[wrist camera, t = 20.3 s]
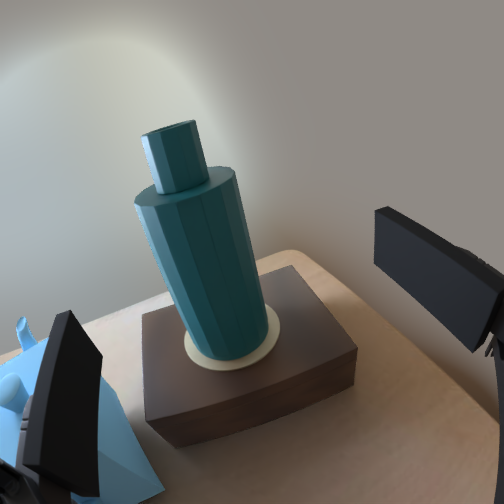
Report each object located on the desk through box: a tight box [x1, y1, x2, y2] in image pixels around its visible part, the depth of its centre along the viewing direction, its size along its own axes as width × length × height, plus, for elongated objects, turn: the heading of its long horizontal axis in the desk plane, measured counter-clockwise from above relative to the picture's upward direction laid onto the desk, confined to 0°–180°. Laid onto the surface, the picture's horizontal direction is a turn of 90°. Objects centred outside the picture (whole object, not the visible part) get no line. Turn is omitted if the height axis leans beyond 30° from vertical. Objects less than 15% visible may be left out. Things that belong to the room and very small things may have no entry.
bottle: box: [134, 120, 269, 361], centre depth 22 cm, size 7×7×18 cm
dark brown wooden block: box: [142, 265, 358, 448], centre depth 28 cm, size 18×14×6 cm
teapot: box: [0, 317, 165, 504], centre depth 18 cm, size 22×11×14 cm, turn 37°
